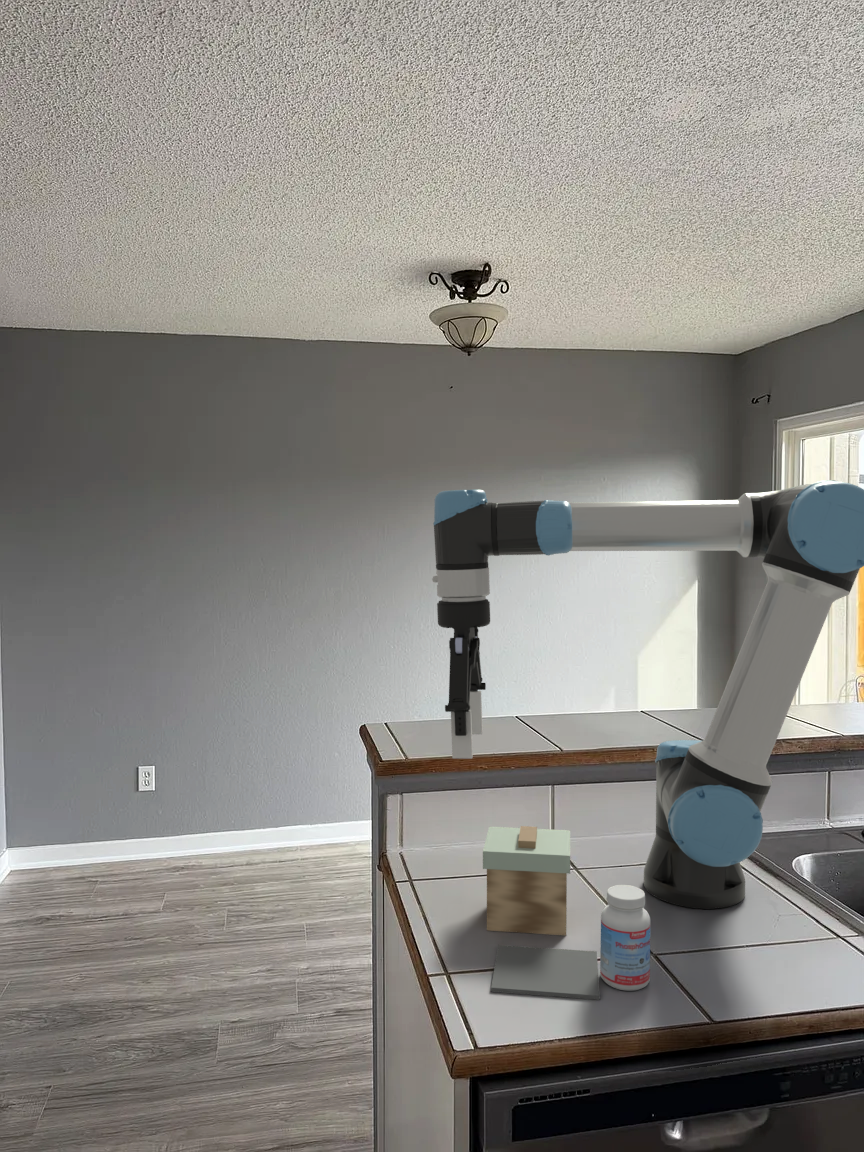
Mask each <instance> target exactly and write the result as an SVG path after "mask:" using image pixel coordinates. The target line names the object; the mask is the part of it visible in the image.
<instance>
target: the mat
mask: <svg viewBox="0 0 864 1152" xmlns="http://www.w3.org/2000/svg"><path fill="white" fill-rule="evenodd" d="M494 963H495V964H494V968H493V974H492V980H491V981H492V982H491V986H490V992H493V993H494V992H495V993H505V994H518V995H519V994H521V995H531V996H532V995H533V996H534V995H535V996H545V997H555V998H557V997H558V998H573V999H584V1000H598V1001H600V999H601V995H600V982H599V981H600V979H599V964H598V951H596V950H582V949H581V950H580V949H568V948H567V949H566V948H553V947H551V948H549V947H537V946H536V947H535V946H534V947H533V946H521V945H520V946H519V945H507V944H498V945H497V951H496V956H495V962H494Z"/></svg>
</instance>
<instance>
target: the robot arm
mask: <svg viewBox="0 0 864 1152" xmlns="http://www.w3.org/2000/svg"><path fill="white" fill-rule="evenodd" d="M433 509H434V519H433V521H434V522H433V523H432V524H433V533H434V550H435V551H434V553H435V555H434V556H435V569H436V575H433V576H432V578H431V581H432V582H433V583H435V584H436V583H437V584H436V595H437V596H438V597H439V598H441V599H440V600H438V602H437V604H436V607H437V608H436V610H437V613H436V614H437V625H438V626H439V627H441V628H445V629H453V637H450V638H449V640H448V646H449V647H448V648H449V677H448V679H449V681H448V682H449V683H448V684H449V685H448V702H447V704H445V705H444V711H445V713H450V725H451V726H450V727H451V730H450V731H451V753H452V754H451V755H452V759H473V754H474V753H473V735H483V710H482V709H483V706H482V703H483V701H482V691H485V690H486V689H487V687H486V685H487V684H486V682H483V677H482V667H481V655H480V654H481V653H480V645H481V640H480V639H481V638H480V637H479V628H483V627H486V626H488V625H490V624H491V603H490V601H489V599H487V598H486V597H488V596H489V595H490V594H491V592H490V591H491V589H490V567H489V557H491V556H493V557H494V556H495V557H498V556H535V555H536V556H539V555H542V556H543V555H545V556H552V555H553V556H554V555H557V554H568V553H569V552H655V551H656V552H657V551H658V552H660V551H661V552H666V551H668V552H671V551H672V552H674V551H675V552H681V551H682V552H685V551H688V552H692V551H694V552H695V551H696V552H700V551H701V552H703V551H706V552H707V551H711V552H712V551H714V552H715V551H717V552H720V551H726V552H727V551H729V552H730V551H731V552H732V551H735V552H737V553H739V555H740V556H741V557H742V558H762V563H761V566H762V569H763V570H764V572H765V575H766V578H767V582H766V585H765V587H764V588H763V592H762V594H761V596H760V599H759V602H758V605H757V607H756V610H755V612H754V614H753V617H752V619H751V623H750V624H749V627H748V630H747V632H746V635H745V637H744V640H743V642H742V645H741V647H740V649H739V652H738V655H737V657H736V660H735V662H734V665H733V667H732V670H731V672H730V674H729V677H728V680H727V681H726V685H725V688H724V690H723V692H722V695H721V698H720V700H719V702H718V705H717V708H716V711H715V712H714V715H713V718H712V720H711V723H710V725H709V728H708V730H707V733H706V736H705V738H704V739H703V740H698V739H697V740H695V739H694V740H693V739H690V740H689V739H680V740H679V739H678V740H677V739H676V740H675V739H673V740H666V741H663V742H660V743H659V745H658V746H657V749H656V758H655V760H654V762H655V764H656V775H655V776H656V778H655V779H656V780H655V783H656V784H655V785H656V787H655V789H656V791H655V796H656V797H655V836H654V840H653V841H652V842H653V843H652V846H651V848H650V851H649V854H648V857H647V859H646V862H645V866H644V867H643V886H644V888H645V890H646V891H647V892H648V893H649V894H650V895H652V896H654V897H655V898H657V899H659V900H662V901H664V902H666V903H669V904H672V905H676V906H681V907H686V908H693V909H704V910H705V909H707V910H711V909H723V908H724V909H725V908H728V907H733V906H735V905H738V904H739V903H740V902H742V901H743V900H744V899H745V897H746V878H745V874H744V871H743V868H742V866H741V862H743V861H745V860H746V859H748V858H749V857H750V856H751V855H752V854H753V853H754V852H755V851H756V850H757V848H758V846H759V845H760V842H761V841H762V837H763V833H764V832H763V829H764V827H763V826H764V825H763V824H764V822H763V821H764V819H763V816H762V813H761V812H762V809H763V806H764V803H765V801H766V799H767V796H768V794H769V791H770V789H771V786H772V783H773V779H772V777H771V776H770V774H769V771H768V769H767V764H768V762H769V759H770V756H771V754H772V751H773V749H774V747H775V745H776V742H777V739H778V737H779V736H780V735H779V734H780V732H781V729H782V727H783V724H784V722H785V720H786V717H787V715H788V713H789V710H790V708H791V706H792V703H793V700H794V698H795V695H796V693H797V691H798V688H799V685H800V683H801V681H802V678H803V675H804V673H805V671H806V669H807V667H808V663H809V662H810V658H811V657H812V654H813V651H814V649H815V646H816V644H817V641H818V639H819V636H820V634H821V632H822V630H823V627H824V624H825V623H826V619H827V617H828V615H829V612H830V609H831V607H832V605H833V603H835V602H836V601H837V600H840V599H842V598H844V597H847V596H849V595H850V593H851V590H852V588H853V586H854V584H855V582H856V578H857V577H858V574H859V572H860V569H861V568H863V567H864V488H862V487H860V486H858V485H855V484H853V483H849V482H844V481H838V480H835V479H829V480H828V479H827V480H820V481H816V482H813V483H807V484H806V483H805V484H800V485H796V486H793V487H789V488H783V489H778V490H772V491H765V492H745V493H743V494H742V495H740V497H739V498H737V499H725V500H724V499H717V500H716V499H715V500H710V499H709V500H661V501H660V500H659V501H658V500H657V501H655V500H651V501H647V500H646V501H595V502H594V501H592V502H591V501H584V502H583V501H582V502H581V501H578V502H569V501H566V500H552V499H545V500H535V501H534V500H531V501H530V500H529V501H513V502H499V503H498V502H489V501H488V498H487V494H486V492H485V490H483V489H454V490H453V489H451V490H442V491H439V492H438V493H437V494H436V496H435V498H434V508H433Z"/></svg>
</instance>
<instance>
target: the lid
mask: <svg viewBox="0 0 864 1152" xmlns="http://www.w3.org/2000/svg"><path fill="white" fill-rule="evenodd" d="M482 869H483V870H487V869H496V870H514V871H532V872H550V873H567V874H568V875H569V874H571V830H568V829H567V830H566V829H552V828H550V829H548V828H544V829H543V828H538V826H529V825H528V826H526V825H525V826H524V825H520V826H519V827H505V826H488V830H487V834H486V837H485V841H484V845H483V849H482Z"/></svg>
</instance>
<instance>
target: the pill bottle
mask: <svg viewBox="0 0 864 1152" xmlns="http://www.w3.org/2000/svg"><path fill="white" fill-rule="evenodd" d="M606 901H607V905H606V906H605V907H604V908H603V909H602V911H601V913H600V948H599V950H600V954H599V957H600V959H599V961H600V962H599V969H600V970H599V973H600V975H599V976H600V978H601V979H602V981H604V983H606V984H607V985H608V986H610V987H612V988H614V989H617V990H621V991H628V992H629V991H631V992H633V991H638V990H642V989H643V988H645V987H647V986H648V984H649V983H650V980H651V979H650V977H651V976H650V974H651V916H650V914H649V912H648V911H647V910H646V909H645V908H644V907H645V904H646V893H645V891H644V890H643V889H641V888H640V887H637V886H635V885H629V884H616V885H612V886H610V887H609V888H607V891H606Z"/></svg>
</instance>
